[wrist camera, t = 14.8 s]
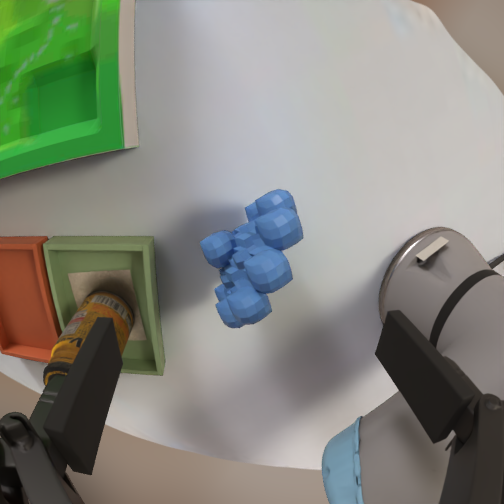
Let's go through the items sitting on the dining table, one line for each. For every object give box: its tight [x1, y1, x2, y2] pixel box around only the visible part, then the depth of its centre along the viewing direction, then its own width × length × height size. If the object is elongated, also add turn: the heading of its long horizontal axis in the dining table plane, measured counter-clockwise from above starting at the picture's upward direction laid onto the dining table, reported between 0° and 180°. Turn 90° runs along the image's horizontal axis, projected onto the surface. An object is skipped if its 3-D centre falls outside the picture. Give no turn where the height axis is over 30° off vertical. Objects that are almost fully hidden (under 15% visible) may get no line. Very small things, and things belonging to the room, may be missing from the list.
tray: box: [0, 0, 139, 179], centre depth 17 cm, size 25×25×5 cm
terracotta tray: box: [0, 236, 62, 363], centre depth 28 cm, size 11×15×2 cm
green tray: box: [43, 236, 165, 376], centre depth 29 cm, size 11×15×2 cm
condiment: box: [43, 270, 147, 386], centre depth 24 cm, size 7×8×12 cm
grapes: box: [200, 189, 303, 328], centre depth 23 cm, size 12×7×12 cm, turn 158°
